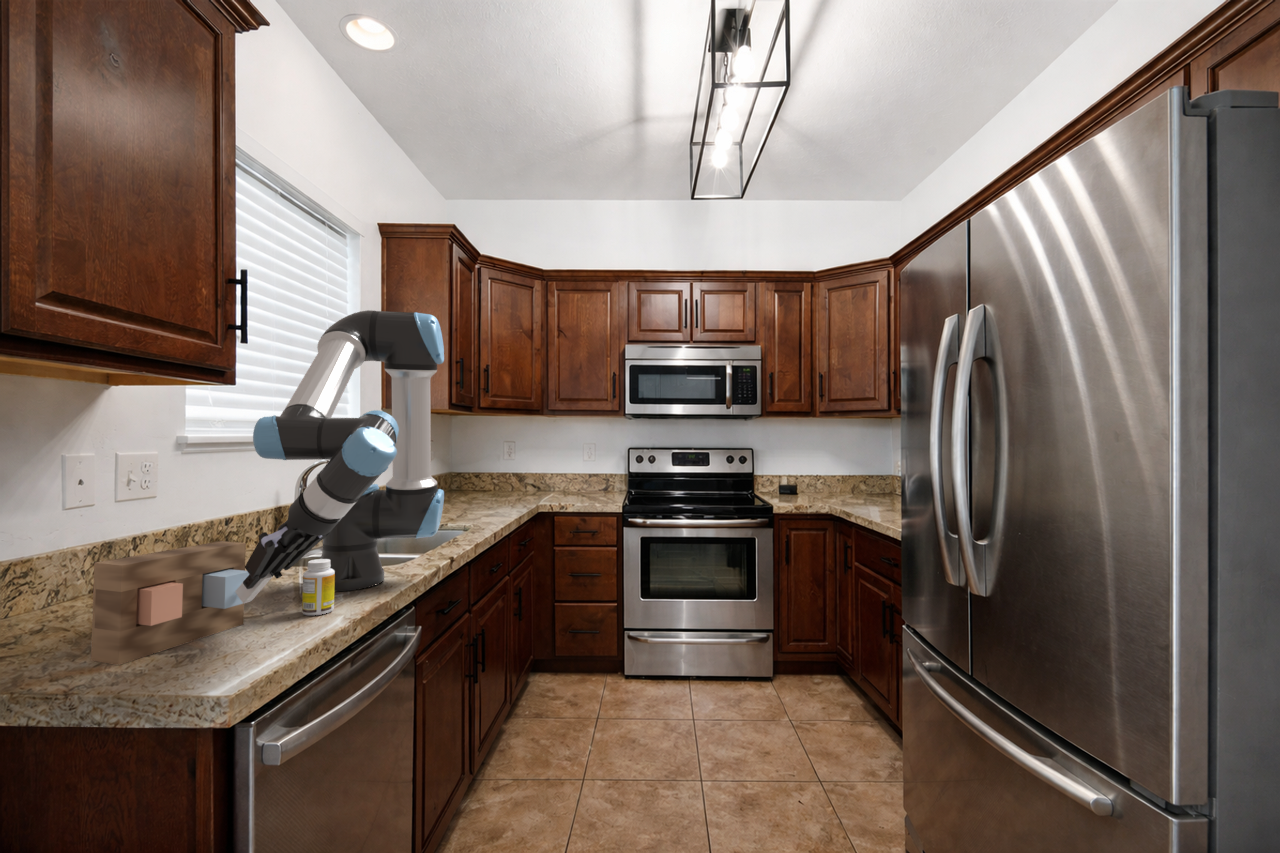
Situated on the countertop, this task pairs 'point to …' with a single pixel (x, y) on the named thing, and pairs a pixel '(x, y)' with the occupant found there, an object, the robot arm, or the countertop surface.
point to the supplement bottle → (318, 588)
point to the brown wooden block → (121, 578)
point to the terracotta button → (159, 603)
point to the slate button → (222, 588)
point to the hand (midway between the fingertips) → (243, 596)
